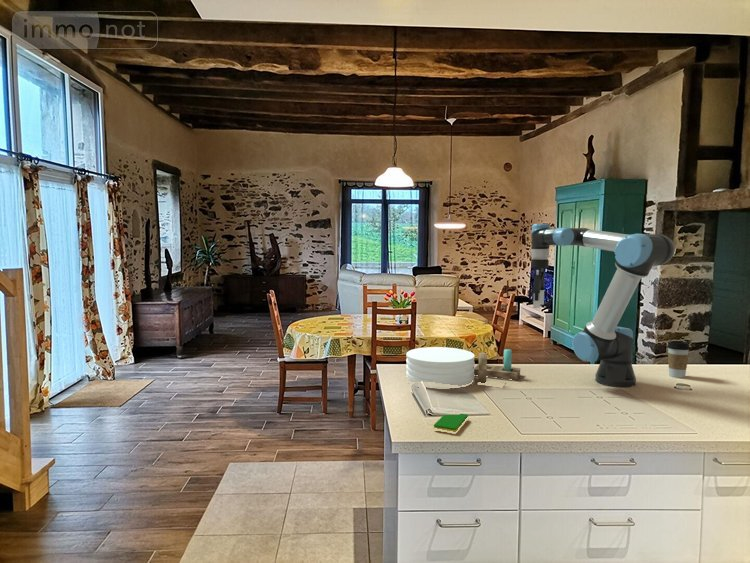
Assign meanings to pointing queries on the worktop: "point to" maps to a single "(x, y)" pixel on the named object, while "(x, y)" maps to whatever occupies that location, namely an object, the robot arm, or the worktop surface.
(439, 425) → the dish sponge
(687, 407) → the worktop surface
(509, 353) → the teal dowel
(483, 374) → the oak dowel
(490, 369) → the walnut block
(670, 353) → the coffee cup
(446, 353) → the plate stack
